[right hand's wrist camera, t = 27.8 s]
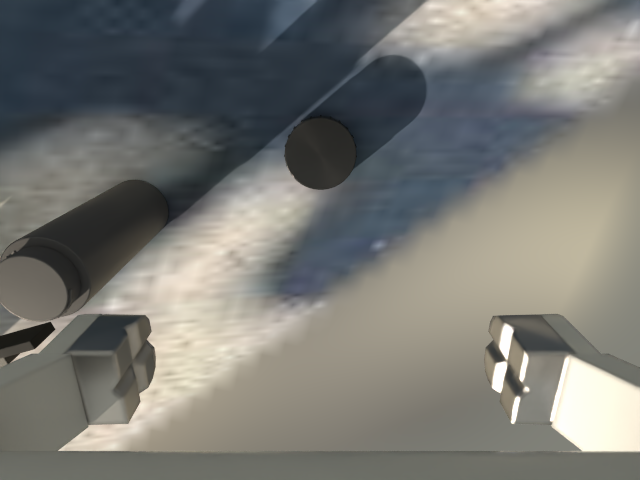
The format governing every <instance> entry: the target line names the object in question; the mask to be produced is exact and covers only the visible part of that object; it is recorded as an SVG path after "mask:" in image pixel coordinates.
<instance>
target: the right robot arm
mask: <svg viewBox="0 0 640 480" xmlns="http://www.w3.org/2000/svg"><path fill="white" fill-rule="evenodd" d="M151 332H152V331H151V326H150V322H149V319H148V318H147V317H146V316H145V315H109V314H104V315H102V314H83V315H78V316H77V317H76V318H75V319H74V320H73V321H72V322H71V323H70V324H69V325H67V326H66V327H65V328H64V329H63V330H62V331H61V332H60V333H59V334H58V335H57V336H56V337H55V338H54V339H53V340H52V341H51V342H50V343H49V344H48V345H47V346H46V347H45V348H44V349H43V350H42V351H41V352H40V353H39V354H30V355H28V356H25V357H23V358H21V359H18V360H16V361H14V362H12V363H9V364H7V365H5V366H2V367H0V480H640V367H637V366H635V365H633V364H631V363H628V362H626V361H624V360H621V359H619V358H617V357H615V356H612V355H610V354H601V353H600V352H599V351H598V350H597V349H596V348H595V347H594V346H593V345H592V344H591V343H590V342H589V341H588V340H587V339H586V338H585V337H584V336H583V335H582V334H581V333H580V332H579V331H578V330H577V329H576V328H575V327H574V326H573V325H572V324H571V323H570V322H569V321H567V320H566V318H564V317H563V316H562V315H559V314H543V315H503V316H493V317H492V319H491V321H490V326H489V333H490V335H491V336H492V338H493V339H494V340H493V341H492V342H491V343H490V344H489V345H488V346H487V347H486V350H485V358H484V363H485V372H486V375H487V379H488V381H489V383H490V385H491V387H492V388H493V389H495V390H496V391H498V392H499V393H501V397H500V403H501V405H502V407H503V409H504V410H505V412H506V414H507V416H508V418H509V419H510V421H511V423H512V424H540V425H552V427H553V428H554V429H555V430H557V431H558V432H559V433H560V434H562V435H563V436H564V437H566V438H567V439H568V440H569V441H571V442H572V443H573V444H575V445H576V446H577V447H578V448H580V449H581V450H582V451H58V450H59V449H61V448H62V447H63V446H64V445H66V444H67V443H68V442H70V441H71V440H72V439H73V438H75V437H76V436H77V435H79V434H80V433H81V432H82V431H84V430H85V429H86V428H88V425H100V424H128V423H129V421H130V419H131V418H132V416H133V414H134V412H135V410H136V409H137V407H138V405H139V403H140V397H139V393H141V392H142V391H144V390H145V389H147V388H148V387H149V385H150V383H151V381H152V379H153V375H154V371H155V362H156V356H155V349H154V347H153V346H152V345H151V344H150V343H149V342H148V341H147V340H146V339H147V338H148V336H149V335H150V333H151Z"/></svg>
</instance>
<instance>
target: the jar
mask: <svg viewBox="0 0 640 480" xmlns="http://www.w3.org/2000/svg"><path fill="white" fill-rule="evenodd" d="M167 219H168V205H167V202H166V200H165V198H164V196H163V195H162V194H161V192H160V191H159V190H158V189H157V188H155V187H154V186H153V185H151V184H149V183H147V182H144V181H140V180H128V181H125V182H122V183H120V184H118V185H117V186H115V187H113V188H111V189H109V190H108V191H106V192H104V193H102V194H100V195H98V196H97V197H95V198H93V199H91V200H89V201H87V202H86V203H84V204H82V205H80V206H78V207H77V208H75V209H73V210H71V211H69V212H67V213H66V214H64V215H62V216H60V217H58V218H56V219H55V220H53V221H51V222H49V223H47V224H46V225H44V226H42V227H40V228H38V229H36V230H35V231H33V232H31V233H29V234H27V235H25V236H24V237H22V238H20V239H18V240H16V241H15V242H13V243H12V244H10V245H9V246H8V247H7V248H6V250H5V251H4V253H3V255H2V257H1V260H0V303H1V304H2V305H3V306H4V307H5V308H6V309H7V310H8V311H10V312H11V313H13V314H14V315H16V316H18V317H20V318H22V319H26V320H29V321H36V322H42V321H48V320H53V319H55V318H59V317H61V316H67V315H70V314H73V313H75V312H76V311H78V310H80V309H81V308H82V307H83V306H84V305H85V304H86V303H87V302H88V301H89V300H90V299H91V298H92V297H93V296H94V295H95V294H96V293H97V292H98V291H99V290H100V289H101V288H102V287H103V286H104V285H105V284H106V283H108V282H109V281H110V280H111V279H112V278H113V277H114V276H115V275H116V274H117V273H118V272H119V271H120V270H121V269H122V268H123V267H124V266H125V265H126V264H127V263H128V262H129V261H130V260H131V259H132V258H133V257H134V256H135V255H136V254H137V253H138V252H139V251H140V250H141V249H142V248H143V247H144V246H145V245H146V244H147V243H148V242H149V241H150V240H151V239H152V238H153V237H154V236H155V235H156V234H157V233H159V232H160V231H161V230H162V228H163V227H164V226H165V224H166V222H167Z"/></svg>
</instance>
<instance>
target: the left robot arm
mask: <svg viewBox="0 0 640 480" xmlns="http://www.w3.org/2000/svg"><path fill="white" fill-rule="evenodd" d="M54 330H55V328H54V326H53V325H52V323H51V322H48V323H45V324H41V325H38V326H34V327H30V328H27V329H23V330H20V331H16V332H13V333H9V334H5V335H2V336H0V367H2V366H5V365H7V364H9V363H10V362H11V361H12V360H14V359H15V358H16V357H17V356H18V355H19V354H20V353H22V352H26V351H30V350H33V349H35V348H37V347H38V346H39V345H40V344H41V343H42V342H43V341H44V340H45V339H46V338H47V337H48V336H49V335H50V334H51V333H52V332H53V331H54Z"/></svg>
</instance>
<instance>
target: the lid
mask: <svg viewBox="0 0 640 480" xmlns="http://www.w3.org/2000/svg"><path fill="white" fill-rule="evenodd" d="M293 129H294V130H293V131H292V132H291V134H289V136H288V140H287V143H286V144H285V155H284V157H285V160H286V164H287V165H286V166H287V167H288V170H289V171H290V173H291V175H292V176H293V177H294V178H295V179H296V180H297V181H298V182H299V183H301V184H302V185H304V186H306V187H308V188H312V189H318V190H323V189H329V188H333V187H335V186H337V185H339V184H340V183H342V182H343V181H344V180H345V179H346V178H347V177H348V176H349V175H350V173H351V171H352V170H353V167H354V164H355V160H356V157H357V156H356V145H355V143H354V140H353V136H352V135H351V134H350V132H349V131H348V128H347V127H345V126H344V125H343V124H341V122H340V121H337V120H335V119H333V118H331V117H325V116H322V115H320V116H316V117H312V116H311V117H310V118H308V119H306V120H304V121H303V120H302V121H301V123H300V124H298V125H297V126H296V127H294V128H293Z"/></svg>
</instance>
